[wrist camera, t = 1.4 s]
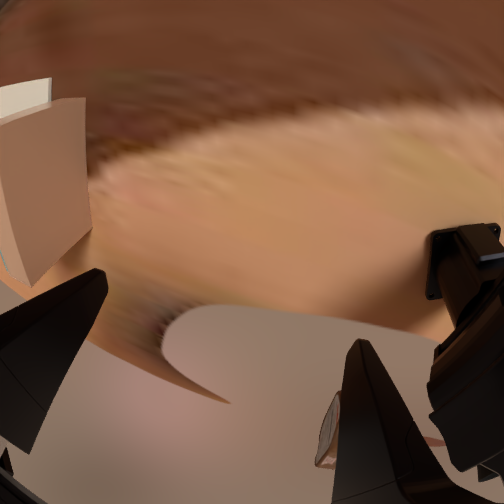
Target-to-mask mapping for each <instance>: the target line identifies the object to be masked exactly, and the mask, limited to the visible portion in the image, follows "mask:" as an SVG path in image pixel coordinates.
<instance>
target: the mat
mask: <svg viewBox="0 0 504 504" xmlns="http://www.w3.org/2000/svg"><path fill="white" fill-rule="evenodd" d="M51 86H52V78H45V79H39V80H33V81H28V82H22V83H18V84H13V85H8V86H4V87H0V118H3V117H6V116H8V115H11V114H14V113H16V112H19V111H22V110H25V109H28V108H31V107H34V106H37V105H40V104H44V103H47V102H50V101H51Z"/></svg>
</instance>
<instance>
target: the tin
mask: <svg viewBox="0 0 504 504" xmlns="http://www.w3.org/2000/svg"><path fill="white" fill-rule="evenodd" d="M340 397H341V391H338V392H337V393H336V395H335V397H334V399H333V401H332V403H331V405H330V407H329V409H328V411H327V413H326V415H325V418H324V420H323V423H322V427H321V431H320V435H319V446H318V452H317V455H316V457H315V466H316V467H319V468H327V469H332V470H334V469H335V468H336V457H337V445H338V432H339V415H340Z"/></svg>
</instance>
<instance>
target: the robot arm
mask: <svg viewBox="0 0 504 504" xmlns="http://www.w3.org/2000/svg"><path fill="white" fill-rule="evenodd" d="M495 229H496V230H495ZM494 230H495V231H494ZM500 232H501V228H500V226H499V225H498V224H497V223H490V224H484V223H481V224H472V225H464V226H459V227H457V228H450V229H442V230H436V231H434V232H433V233H432V234H431V243H430V256H429V267H428V276H427V285H426V292H425V295H426V298H427V299H428V300H435V299H441V298H443V299H444V302H445V304H446V307H447V309H448V312H449V315H450V317H451V320H452V323H453V325H454V328H455V330H454V331H453V332H452V333H451V334H450V336H449V337H448V338H447V339H446V340H445V341H444V342H443V343H442V344H439V345H438V346H437V347H436V348H435V350H434V362H433V365H432V367H431V373H430V381H429V382H428V383H427V392H428V397H429V400H430V403H431V406H432V408H433V410H434V411H433V412H432V413H431V414H429V418H430V420H431V421H432V422H433V423H434V424H435V425H436V427H437V428H438V429H439V431H440V433H441V434H442V436H443V438H444V441H445V443H446V446H447V450H448V453H449V457H450V460H451V463H452V464H453V465H454V466H455V468H456V469H457V470H458V471H460V472H465V471H467V470H469V469H471V468H473V467H475V466H477V465H479V464H480V465H482V466H484V467H486V468H488V469H490V470H492V471H493V472H495V473H497V474H499V476H500V478H501V480H502V482H503V485H504V247H503V246H502V244H501V243H500V242H499V238H500ZM437 236H439V238H438V239H436V237H437ZM107 293H108V283H107V278H106V273H105V272H104V271H103V270H100V269H97V268H94V269H92V270H89V271H87V272H85V273H83V274H81V275H79V276H77V277H75V278H73V279H71V280H68V281H66V282H64V283H62V284H60V285H58V286H56V287H54V288H52V289H50V290H48V291H46V292H44V293H42V294H40V295H38V296H36V297H34V298H32V299H30V300H28V301H26V302H24V303H22V304H21V305H19V306H17V307H15V308H13V309H11V310H9V311H7V312H5V313H3V314H1V315H0V504H47V503H46V502H45V501H43V500H42V499H40V498H39V497H38V496H36V495H35V494H33V493H32V492H31V491H29V490H28V489H27V488H25V487H24V486H23V485H22V484H20V483H19V482H18V481H17V480H15V479H14V478H13V474H14V473H13V470H12V466H11V462H10V458H9V454H8V450H7V448H6V445H7V443H8V442H10V443H12V444H13V445H15V446H16V447H18V448H19V449H21V450H22V451H24V452H25V453H27V454H30V452H31V450H32V447H33V444H34V442H35V440H36V437H37V435H38V432H39V430H40V428H41V426H42V423H43V421H44V419H45V417H46V415H47V412H48V410H49V408H50V406H51V403H52V401H53V399H54V397H55V395H56V393H57V391H58V389H59V387H60V385H61V383H62V381H63V379H64V377H65V375H66V373H67V371H68V369H69V367H70V365H71V364H72V362H73V360H74V358H75V356H76V354H77V352H78V351H79V349H80V347H81V345H82V344H83V342H84V340H85V338H86V336H87V335H88V333H89V331H90V329H91V328H92V326H93V324H94V322H95V319H96V317H97V315H98V313H99V311H100V308H101V306H102V304H103V302H104V300H105V298H106V296H107ZM432 293H433V294H432ZM430 294H431V295H430ZM331 504H504V503H495V502H492V501H490V500H487V499H485V498H483V497H481V496H479V495H476V494H474V493H472V492H470V491H468V490H466V489H464V488H462V487H460V486H458V485H456V484H455V483H454V482H452V481H451V480H450V479H449V477H448V476H447V475H446V473H445V471H444V470H443V468H442V467H441V465H440V464H439V462H438V461H437V459H436V457H435V456H434V454H433V453H432V451H431V449H430V448H429V446H428V445H427V443H426V441H425V440H424V438H423V436H422V435H421V432H420V431H419V429H418V427H417V425H416V423H415V421H413V418H412V416H411V414H410V412H409V410H408V408H407V406H406V405H405V403H404V401H403V399H402V397H401V395H400V394H399V392H398V390H397V388H396V387H395V385H394V383H393V381H392V380H391V378H390V376H389V374H388V372H387V371H386V369H385V367H384V366H383V364H382V362H381V360H380V358H379V357H378V355H377V353H376V352H375V350H374V348H373V347H372V345H371V344H370V342H369V341H368V340H365V339H357V340H356V341H355V342H354V344H353V345H352V347H351V348H350V350H349V351H348V353H347V356H346V362H345V369H344V376H343V383H342V390H341V397H340V415H339V432H338V445H337V457H336V468H335V478H334V486H333V494H332V503H331Z"/></svg>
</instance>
